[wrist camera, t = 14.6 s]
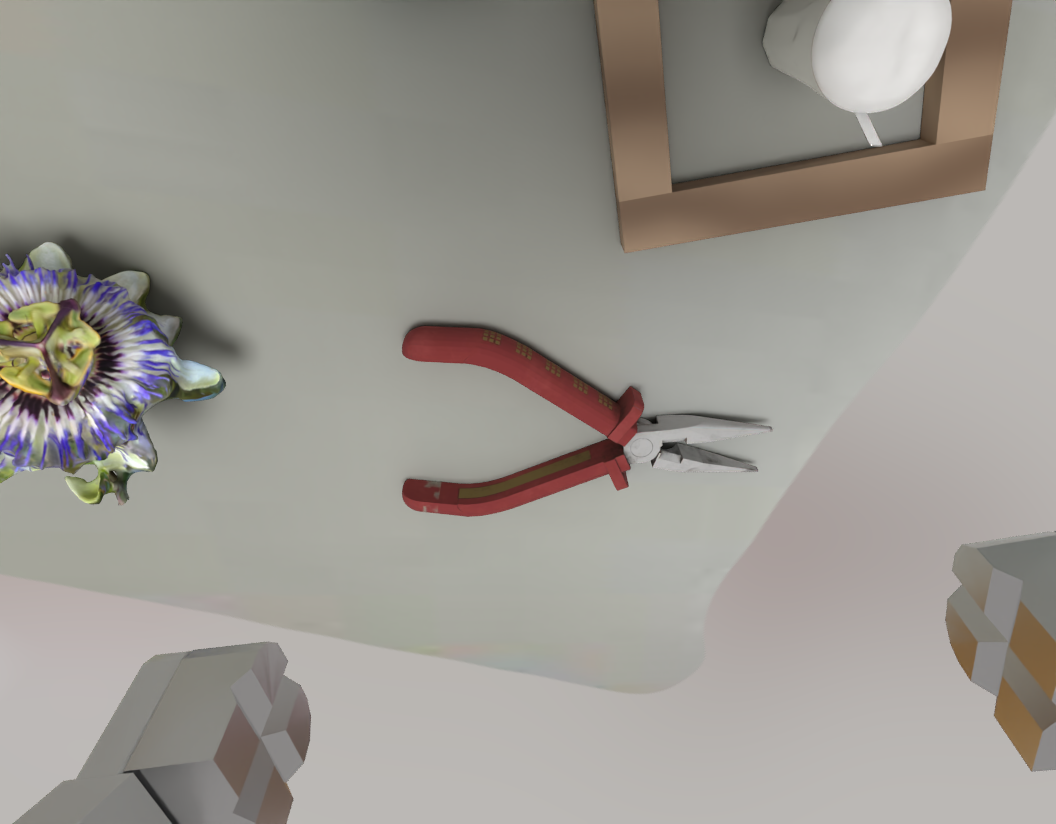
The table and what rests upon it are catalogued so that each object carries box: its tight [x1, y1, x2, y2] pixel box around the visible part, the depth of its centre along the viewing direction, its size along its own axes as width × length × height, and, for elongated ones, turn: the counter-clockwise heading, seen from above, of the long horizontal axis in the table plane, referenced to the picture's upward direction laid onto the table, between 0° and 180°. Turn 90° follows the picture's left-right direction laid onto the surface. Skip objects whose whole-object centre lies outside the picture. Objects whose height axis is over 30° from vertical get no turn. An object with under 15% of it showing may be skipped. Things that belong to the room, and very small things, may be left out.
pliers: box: [402, 326, 772, 517], centre depth 40 cm, size 12×21×3 cm, turn 85°
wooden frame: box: [593, 0, 1012, 253], centre depth 31 cm, size 15×17×2 cm
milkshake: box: [762, 0, 952, 147], centre depth 27 cm, size 4×5×10 cm
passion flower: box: [0, 242, 226, 505], centre depth 35 cm, size 13×12×14 cm
